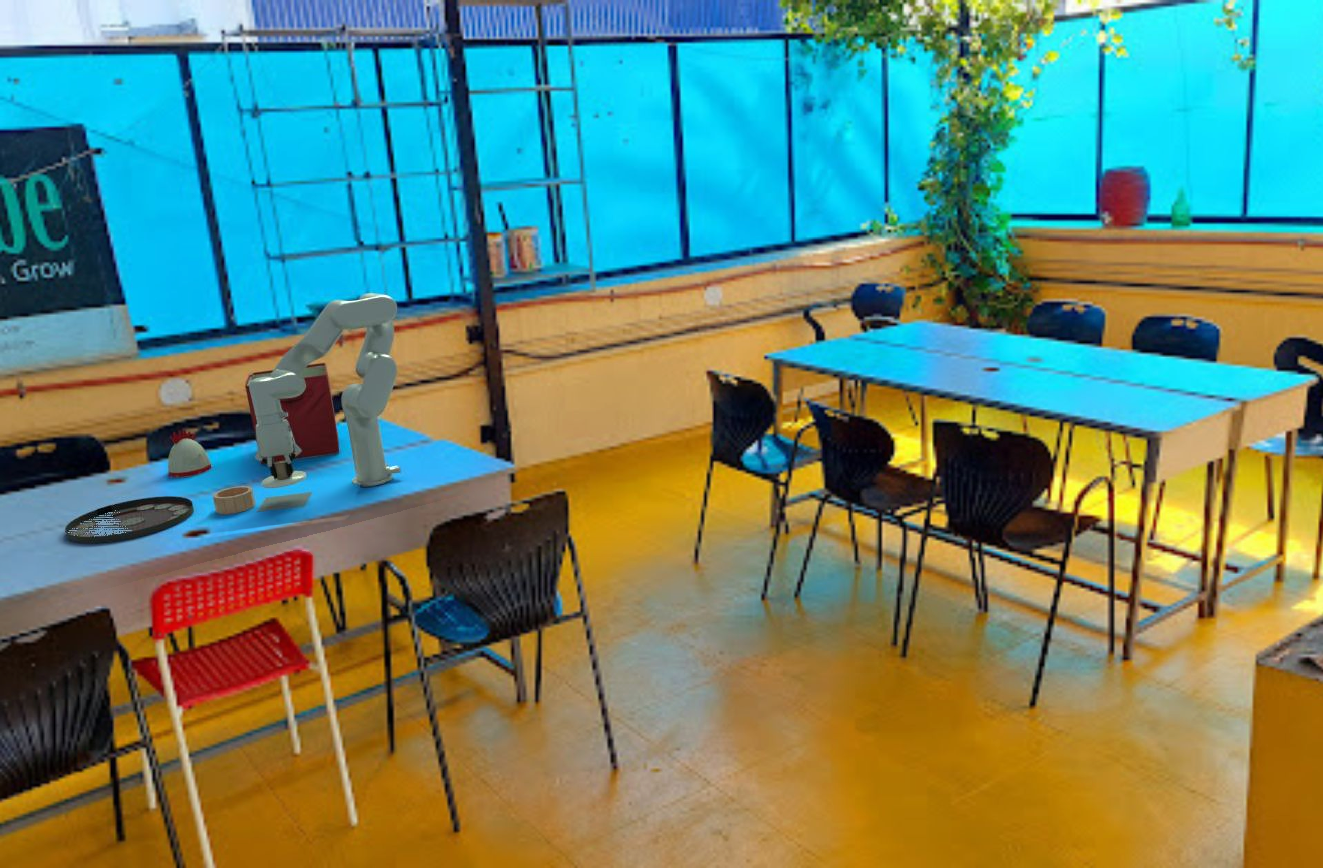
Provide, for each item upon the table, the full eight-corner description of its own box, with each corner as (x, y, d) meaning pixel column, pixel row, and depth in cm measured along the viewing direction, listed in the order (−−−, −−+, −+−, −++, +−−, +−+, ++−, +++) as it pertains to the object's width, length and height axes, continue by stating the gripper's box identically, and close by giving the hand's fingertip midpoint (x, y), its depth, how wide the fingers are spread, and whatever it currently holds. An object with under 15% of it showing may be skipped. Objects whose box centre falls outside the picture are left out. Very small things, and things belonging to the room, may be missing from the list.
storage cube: (262, 447, 407) (247, 370, 399) (338, 435, 414) (326, 360, 407) (259, 469, 377) (243, 387, 370) (341, 456, 385) (327, 375, 377)
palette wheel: (160, 498, 355) (158, 490, 354) (215, 513, 333) (214, 505, 332) (47, 533, 329) (45, 524, 329) (99, 552, 307) (97, 544, 307)
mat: (312, 494, 342) (312, 491, 341) (305, 508, 328) (304, 505, 328) (266, 500, 340) (266, 497, 340) (257, 515, 327) (256, 511, 326)
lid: (309, 470, 340) (305, 453, 338) (302, 483, 327) (298, 465, 326) (266, 477, 338) (262, 459, 337) (258, 490, 326) (253, 472, 324)
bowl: (259, 502, 338) (255, 484, 337) (251, 514, 328) (247, 495, 326) (222, 507, 337) (218, 489, 336) (213, 519, 327) (209, 500, 325)
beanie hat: (163, 473, 384) (154, 431, 380) (203, 463, 393) (194, 422, 389) (177, 479, 374) (168, 437, 370) (217, 469, 382) (209, 427, 378)
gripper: (300, 411, 332) (313, 468, 337) (244, 419, 330) (258, 477, 335) (296, 417, 325) (309, 476, 330) (238, 426, 323) (252, 484, 328)
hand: (283, 476), depth 332 cm, fingers closed on lid, 3 cm apart
